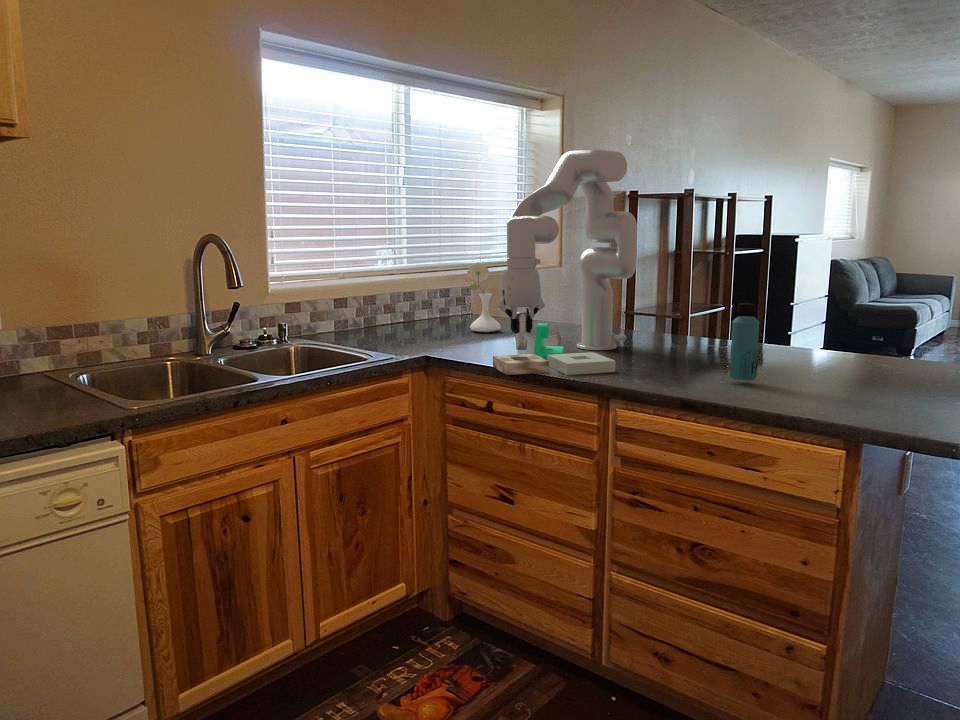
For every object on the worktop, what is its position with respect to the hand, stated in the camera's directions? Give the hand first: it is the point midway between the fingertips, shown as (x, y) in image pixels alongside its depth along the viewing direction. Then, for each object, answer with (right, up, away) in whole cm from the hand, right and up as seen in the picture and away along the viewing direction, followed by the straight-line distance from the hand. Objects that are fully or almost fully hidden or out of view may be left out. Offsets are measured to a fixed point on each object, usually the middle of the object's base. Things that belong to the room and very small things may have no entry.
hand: (521, 331), depth 202 cm
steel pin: (0, -5, +1) cm, 5 cm away
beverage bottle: (+54, -14, -18) cm, 58 cm away
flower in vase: (-10, +3, +72) cm, 72 cm away
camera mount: (+9, -7, +19) cm, 23 cm away
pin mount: (0, -10, +2) cm, 10 cm away
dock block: (+16, -10, +2) cm, 19 cm away
